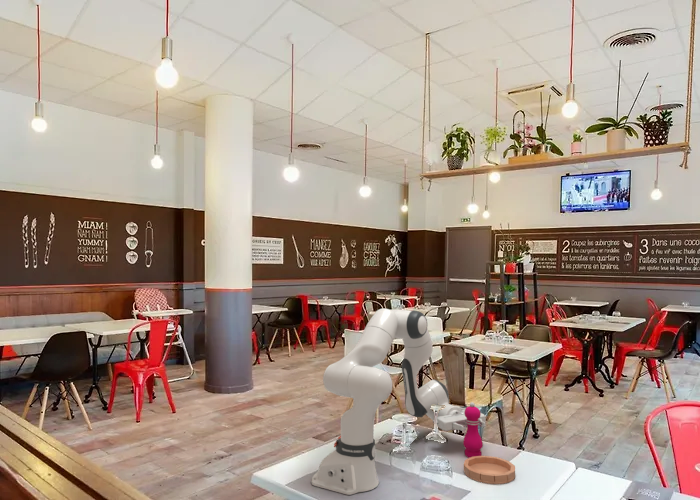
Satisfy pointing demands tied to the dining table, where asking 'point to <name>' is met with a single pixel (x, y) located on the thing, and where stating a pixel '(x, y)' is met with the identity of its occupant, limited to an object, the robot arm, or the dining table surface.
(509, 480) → the round tray
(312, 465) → the dining table surface
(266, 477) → the dining table surface
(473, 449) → the pepper mill
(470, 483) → the dining table surface
